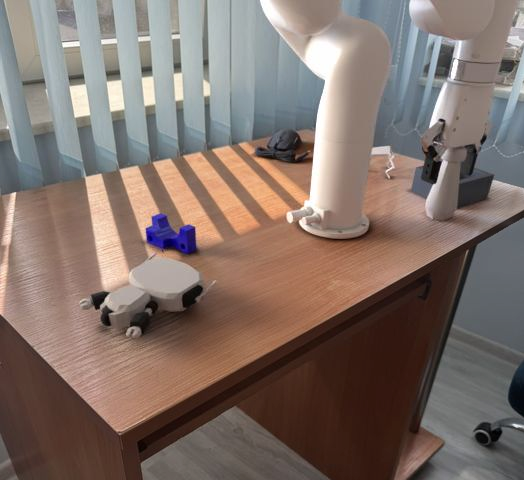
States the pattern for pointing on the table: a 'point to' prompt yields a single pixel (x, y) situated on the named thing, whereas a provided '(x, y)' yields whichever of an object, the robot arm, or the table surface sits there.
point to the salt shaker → (446, 186)
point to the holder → (469, 186)
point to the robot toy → (149, 294)
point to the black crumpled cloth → (282, 146)
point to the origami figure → (384, 155)
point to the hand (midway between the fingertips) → (446, 177)
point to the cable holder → (170, 235)
